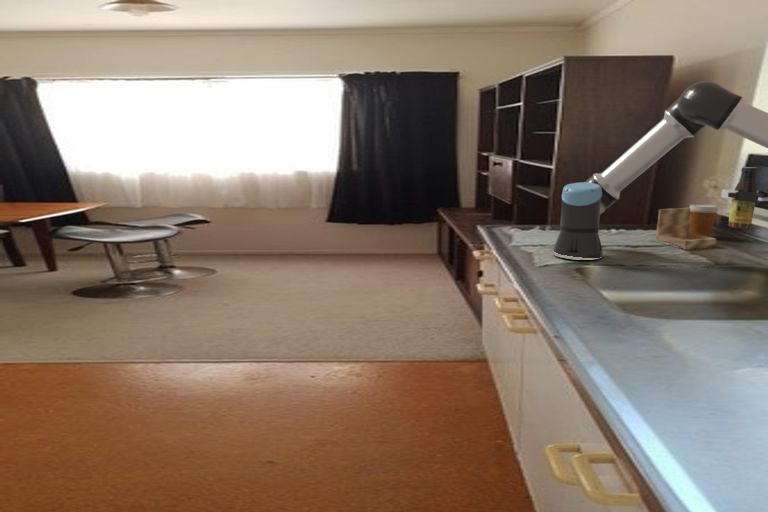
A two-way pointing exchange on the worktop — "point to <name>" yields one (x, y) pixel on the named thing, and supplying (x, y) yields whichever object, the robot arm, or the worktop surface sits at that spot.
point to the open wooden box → (680, 230)
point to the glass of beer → (702, 218)
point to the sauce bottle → (743, 209)
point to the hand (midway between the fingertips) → (730, 193)
